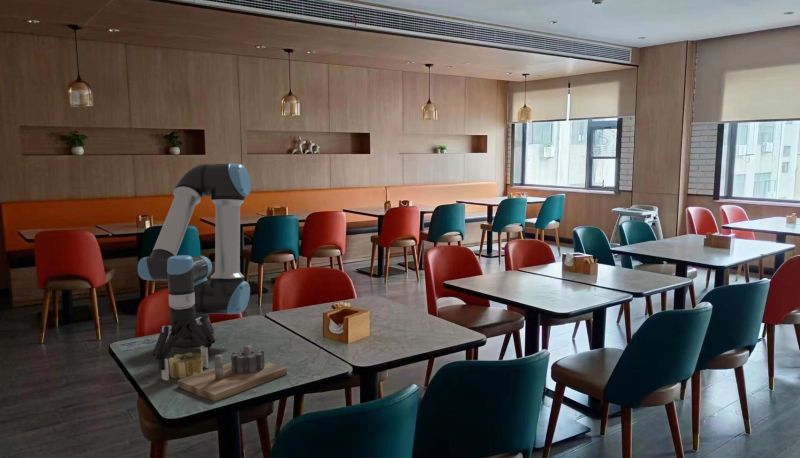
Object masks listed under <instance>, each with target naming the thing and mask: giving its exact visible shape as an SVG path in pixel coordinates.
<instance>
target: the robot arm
mask: <svg viewBox="0 0 800 458" xmlns="http://www.w3.org/2000/svg"><path fill="white" fill-rule="evenodd" d="M250 178H251V177H250V175H249V172H248V170H247V168H246V166H244V165H243V164H239V163H232V162H231V163H230V162H229V163H201V164H198V165H195V166H193V167H191V168H190V169H188V170H187V171H186V173H184V175H182V176H181V178H180V179H179V180H178V181H177V183H176V185H175V188H173V189H174V190H173V192H172V193H173V197H174V198H173V200H172V201H171V202H172V203H171V205H170V208H169V210H168V213H167V214H166V217H165V220H164V222H163V223H162V224H163V225H162V227H161V229H160V232H159V235H158V236H157V240H156V242H155V243H154V247H153V249H152V252H151V253H150V255H149V256H144V257H141V258H140V260H139V261H138V263H137V274H138V276H139V277H140V279H142V280H146V281H153V282H154V281H156V282H157V281H167V286H168V306H169V322H170V324H169V325H161V326H160V329H159V331H160V332H159V336H158V338H157V341H156V343H155V346H154V348H153V351H152V354H151V358H152V359H154V360H158V369H159V370H160V371H161V380H164V381H166V382H167V381H168V382H169V381H170V372H169V358H167V357H168V355H169V353H170V351H171V350H172V348H173V347H174V346H175V347H178V348H179V347H180V348H181V347H183V348H190V347H198V346H200V354H201V356H202V363H203V368H205V369H208V368H209V357H210V355H211V353H210V352H211V351H210V348H211V347H212V345H213V344H215V343H216V335H215V334H216V333H215V330H214V327H213V325H212V323H211V320H210V315H212V314H213V315H215V314H217V315H218V314H219V315H239V314H242V313H243V312H244V311H245V310H246V308H247V306H248V304H249V301H250V295H251V287H250V284H249V282H248V281H245V276H244V274H243V273H242V272H241V258H240V257H241V206H242V205H243V203H244V202H245V200H246V199H245V197H248V196H249V195H250V193H251V189H252V187H251V186H252V185H251V184H252V183H251V179H250ZM205 197H210V198H211V199H210V201H211V202H212V203H213V204H214V206H215V223H214V224H215V229H214V231H215V232H214V234H215V235H214V237H215V238H214V239H215V242H214V244H215V246H214V247H215V248H214V249H215V251H214V254H215V255H214V257H215V258H214V273H213V274H212V275H211V273H212V271H213V265H212V261H211V259H209V258H208V257H206V256H205V255H195V256H193V257H192V256H191V255H185V254H181V255H180V254H179V255H178V252H179V250H180V247H181V245H182V242H183V239H184V237H185V234H186V231H187V229H188V226H189V224H190V221H191V219H192V216H193V213H194V210H195V208H196V206H197V205H198V204H200V203H201V200H202V198H205ZM209 275H211V276H210V280H209V281H208V279H209V278H208V277H209Z"/></svg>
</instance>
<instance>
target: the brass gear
mask: <svg viewBox="0 0 800 458" xmlns="http://www.w3.org/2000/svg"><path fill="white" fill-rule="evenodd" d="M168 368H169V376H170V378H172V379H177V378H178V379H179V380H180V379H183V378H186V377H189V376H192V375H195V374H198V373H201V372H204V367H203V363H202V356H201V353H198V352H196V353H192V352H185V353H183V354H180V353H178V354H175V355H174V356H173V357H169V358H168Z"/></svg>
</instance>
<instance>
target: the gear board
mask: <svg viewBox="0 0 800 458" xmlns="http://www.w3.org/2000/svg"><path fill="white" fill-rule="evenodd" d="M213 357H214V358H213V359H214V368H210V369H207V370H205V371H204V370H203V372H201V373H198V374H195V375H192V376H189V377H186V378H183V379H180V378H179V379H178V380H177V388H180V389H182V390H185V391H187V392H188V393H192V394H195V395H196V396H200V397H202V398H205V399H207V400H210V401H212V402H213V403H215V402H218V401H222V400H223V399H227V398H228V397H231V396H233V395H236V394H238V393H242V392H244V391H247V390H249V389H251V388H254V387H256V386H260V385H262V384H265V383H268V382H270V381H272V380H275V379H277V378H280V377H283V376H285V375H288V371H287V369H288V367H285V366H282V365H279V364H275V363H272V362H268V361H266V360H265V350H263V349H259V348H258V347H252V345H250V344H249V345H248V344H247V345H245V346H244V345H243V348H240V350H234V351H232V352H231V355H230V359H231V361H230V362H228V363H225V364H223V355H222V354H216V355H214V356H213Z"/></svg>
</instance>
